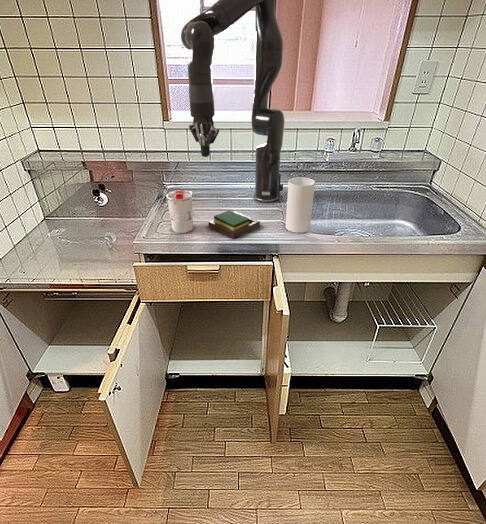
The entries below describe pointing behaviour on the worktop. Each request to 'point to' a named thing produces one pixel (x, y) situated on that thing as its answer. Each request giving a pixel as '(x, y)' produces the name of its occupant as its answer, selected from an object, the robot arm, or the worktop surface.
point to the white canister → (180, 210)
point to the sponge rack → (234, 234)
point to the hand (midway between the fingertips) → (205, 156)
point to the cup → (299, 204)
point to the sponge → (231, 220)
